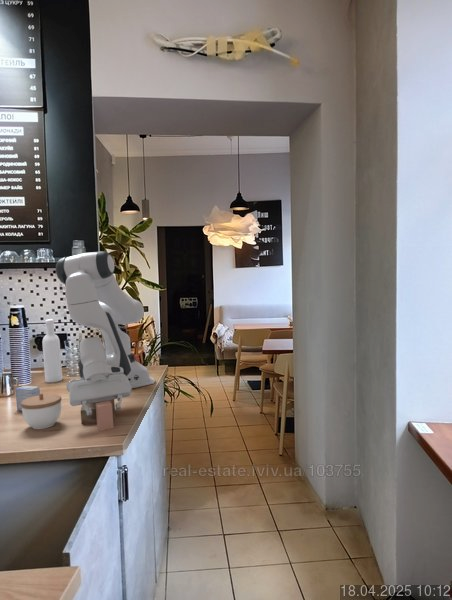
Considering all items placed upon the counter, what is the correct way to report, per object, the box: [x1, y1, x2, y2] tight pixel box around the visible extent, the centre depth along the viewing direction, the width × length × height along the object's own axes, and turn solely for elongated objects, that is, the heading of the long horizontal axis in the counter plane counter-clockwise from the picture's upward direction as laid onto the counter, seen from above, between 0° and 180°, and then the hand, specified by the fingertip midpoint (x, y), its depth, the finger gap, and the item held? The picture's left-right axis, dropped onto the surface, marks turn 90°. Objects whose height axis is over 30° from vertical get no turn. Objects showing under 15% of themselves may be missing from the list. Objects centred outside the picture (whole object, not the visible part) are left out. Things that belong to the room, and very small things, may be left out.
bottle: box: [41, 318, 63, 384], centre depth 205 cm, size 8×8×30 cm
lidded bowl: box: [21, 392, 62, 430], centre depth 144 cm, size 13×13×11 cm
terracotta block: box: [96, 401, 114, 432], centre depth 140 cm, size 4×4×8 cm
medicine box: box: [14, 385, 41, 412], centre depth 162 cm, size 8×4×9 cm, turn 71°
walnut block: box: [80, 399, 116, 425], centre depth 150 cm, size 11×11×5 cm
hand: (104, 411), depth 139 cm, fingers open, 8 cm apart
